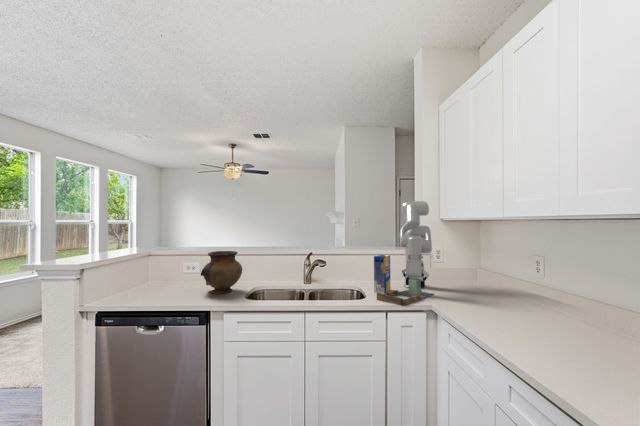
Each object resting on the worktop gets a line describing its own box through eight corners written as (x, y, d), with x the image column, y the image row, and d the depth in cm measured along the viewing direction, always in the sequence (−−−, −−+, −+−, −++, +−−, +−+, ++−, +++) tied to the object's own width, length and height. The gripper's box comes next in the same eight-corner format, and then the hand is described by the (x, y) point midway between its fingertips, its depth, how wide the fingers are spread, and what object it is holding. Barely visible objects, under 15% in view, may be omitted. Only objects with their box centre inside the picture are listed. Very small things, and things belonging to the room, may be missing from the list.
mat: (409, 290, 191) (409, 289, 191) (433, 294, 179) (433, 293, 179) (396, 294, 182) (396, 292, 182) (421, 299, 170) (421, 297, 170)
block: (414, 291, 184) (413, 278, 185) (421, 293, 181) (421, 279, 181) (408, 293, 180) (408, 279, 181) (416, 294, 177) (416, 280, 177)
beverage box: (390, 290, 193) (390, 255, 193) (385, 293, 183) (384, 257, 184) (380, 288, 196) (379, 254, 197) (374, 292, 187) (373, 256, 187)
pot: (204, 299, 173) (203, 255, 173) (197, 291, 193) (196, 252, 193) (247, 292, 185) (246, 252, 186) (237, 286, 206) (236, 249, 206)
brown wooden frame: (396, 294, 181) (396, 288, 182) (420, 299, 170) (420, 292, 170) (376, 299, 169) (376, 293, 169) (401, 305, 157) (401, 298, 157)
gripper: (431, 258, 177) (431, 287, 177) (405, 255, 190) (405, 283, 190) (424, 259, 172) (425, 289, 172) (398, 256, 185) (398, 285, 185)
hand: (415, 286), depth 181 cm, fingers open, 9 cm apart
